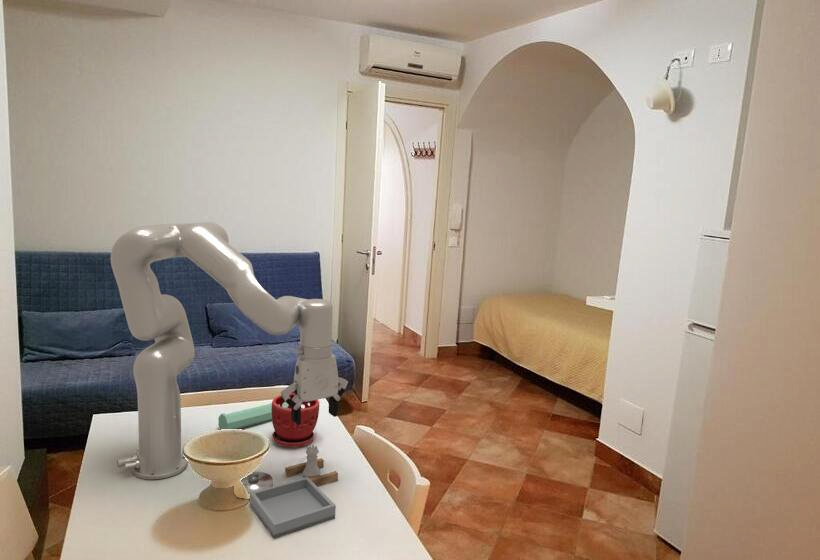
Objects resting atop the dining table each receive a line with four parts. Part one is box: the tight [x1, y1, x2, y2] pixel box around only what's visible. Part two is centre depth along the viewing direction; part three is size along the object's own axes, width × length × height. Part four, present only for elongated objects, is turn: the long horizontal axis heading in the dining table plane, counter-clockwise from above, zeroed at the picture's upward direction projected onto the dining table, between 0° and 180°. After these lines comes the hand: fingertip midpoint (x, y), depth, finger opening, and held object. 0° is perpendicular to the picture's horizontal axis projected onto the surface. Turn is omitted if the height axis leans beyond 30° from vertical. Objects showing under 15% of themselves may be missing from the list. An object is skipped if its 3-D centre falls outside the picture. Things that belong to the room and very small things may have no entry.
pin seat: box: [284, 457, 339, 488], centre depth 136 cm, size 10×9×2 cm
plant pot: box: [271, 392, 320, 448], centre depth 155 cm, size 13×13×12 cm
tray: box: [249, 477, 336, 539], centre depth 122 cm, size 14×14×3 cm
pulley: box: [241, 471, 274, 494], centre depth 130 cm, size 9×9×3 cm
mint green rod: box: [217, 402, 289, 431], centre depth 167 cm, size 6×6×25 cm
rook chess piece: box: [301, 445, 321, 478], centre depth 136 cm, size 4×4×8 cm
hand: (315, 418), depth 134 cm, fingers open, 9 cm apart
